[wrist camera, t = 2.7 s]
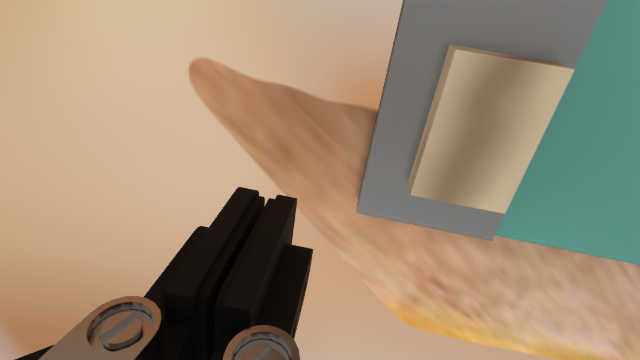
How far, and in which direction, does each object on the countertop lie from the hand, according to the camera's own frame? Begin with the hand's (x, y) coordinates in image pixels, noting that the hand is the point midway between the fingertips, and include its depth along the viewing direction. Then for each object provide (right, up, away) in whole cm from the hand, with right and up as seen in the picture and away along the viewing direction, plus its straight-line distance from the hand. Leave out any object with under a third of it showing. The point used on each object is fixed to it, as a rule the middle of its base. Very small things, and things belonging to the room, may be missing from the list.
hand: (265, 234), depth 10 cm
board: (+11, +7, +13) cm, 18 cm away
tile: (+11, +5, +12) cm, 17 cm away
